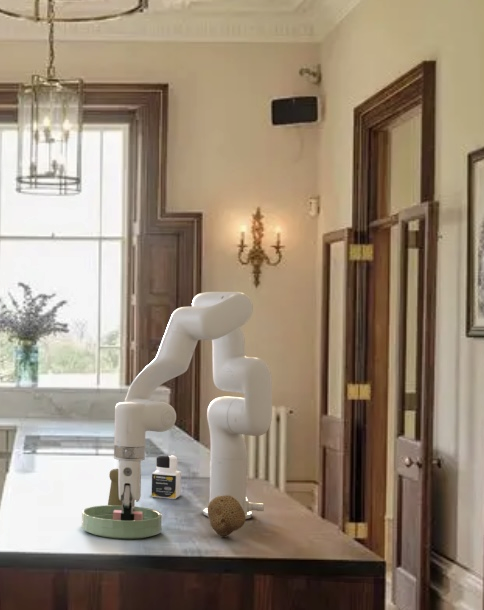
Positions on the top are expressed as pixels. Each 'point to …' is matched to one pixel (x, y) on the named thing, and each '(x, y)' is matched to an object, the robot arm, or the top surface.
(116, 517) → the eraser
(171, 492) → the medicine bottle
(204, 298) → the robot arm
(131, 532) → the bowl
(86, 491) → the top surface
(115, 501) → the cork
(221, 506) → the natural sponge
